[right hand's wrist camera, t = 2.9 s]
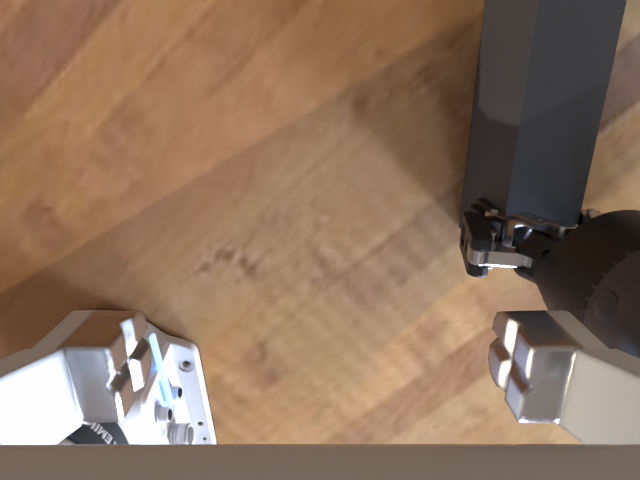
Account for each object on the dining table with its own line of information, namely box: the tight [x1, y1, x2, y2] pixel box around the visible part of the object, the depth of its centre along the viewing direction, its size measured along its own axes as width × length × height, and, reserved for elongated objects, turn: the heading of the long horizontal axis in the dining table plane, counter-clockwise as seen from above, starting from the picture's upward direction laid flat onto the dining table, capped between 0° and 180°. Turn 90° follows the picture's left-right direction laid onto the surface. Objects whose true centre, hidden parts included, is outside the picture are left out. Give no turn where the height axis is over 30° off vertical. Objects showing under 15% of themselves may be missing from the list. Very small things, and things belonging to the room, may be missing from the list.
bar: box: [459, 0, 626, 267], centre depth 32 cm, size 27×5×10 cm, turn 0°
